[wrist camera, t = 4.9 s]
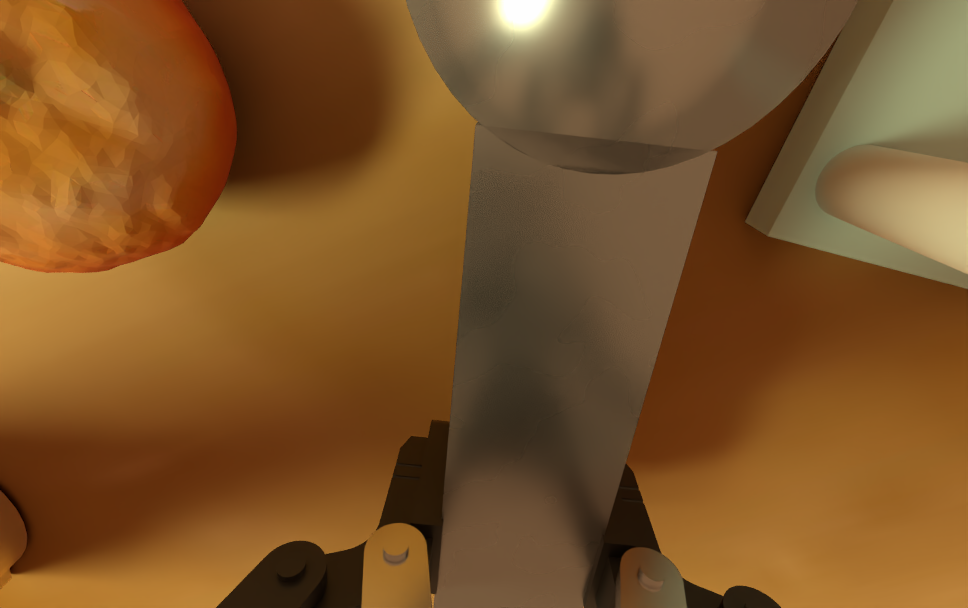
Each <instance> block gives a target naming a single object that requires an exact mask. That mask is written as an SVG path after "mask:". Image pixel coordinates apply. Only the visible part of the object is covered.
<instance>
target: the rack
mask: <svg viewBox="0 0 968 608" xmlns="http://www.w3.org/2000/svg"><path fill="white" fill-rule="evenodd" d="M745 223H747V224H749V225H750V226H752V227H753V228H755V229H757V230H758V231H760V232H762V233H763V234H765V235H766V236H769V237H773V238H777V239H780V240H784V241H788V242H792V243H795V244H799V245H803V246H807V247H811V248H814V249H818V250H822V251H826V252H830V253H833V254H837V255H841V256H845V257H848V258H852V259H856V260H860V261H864V262H867V263H871V264H875V265H879V266H883V267H886V268H890V269H894V270H898V271H901V272H905V273H909V274H913V275H917V276H920V277H924V278H928V279H932V280H936V281H939V282H943V283H947V284H951V285H955V286H958V287H962V288H966V289H968V0H858V2H857V4H856V6H855V8H854V10H853V11H852V13H851V15H850V17H849V19H848V21H847V22H846V24H845V25H844V27H843V29H842V31H841V33H840V35H839V37H838V39H837V40H836V42H835V44H834V46H833V48H832V50H831V52H830V54H829V56H828V58H827V60H826V62H825V64H824V66H823V68H822V70H821V72H820V74H819V76H818V78H817V80H816V82H815V84H814V86H813V88H812V90H811V92H810V94H809V96H808V98H807V100H806V102H805V104H804V106H803V108H802V110H801V112H800V114H799V116H798V118H797V120H796V122H795V123H794V125H793V127H792V129H791V131H790V133H789V135H788V137H787V139H786V141H785V143H784V145H783V147H782V149H781V151H780V153H779V155H778V157H777V159H776V161H775V163H774V165H773V167H772V169H771V171H770V173H769V175H768V177H767V179H766V181H765V183H764V185H763V187H762V189H761V191H760V193H759V195H758V197H757V199H756V201H755V203H754V205H753V207H752V208H751V210H750V212H749V214H748V216H747V218H746V220H745Z"/></svg>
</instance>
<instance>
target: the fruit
mask: <svg viewBox="0 0 968 608" xmlns="http://www.w3.org/2000/svg"><path fill="white" fill-rule="evenodd" d="M236 142H237V124H236V116H235V111H234V106H233V101H232V97H231V93H230V89H229V86H228V83H227V81H226V78H225V76H224V73H223V70H222V68H221V65H220V63H219V60H218V58H217V56H216V54H215V52H214V50H213V48H212V46H211V45H210V43H209V41H208V40H207V38H206V36H205V35H204V33H203V32H202V30H201V29H200V27H199V26H198V24H197V23H196V21H195V20H194V19H193V17H192V16H191V14H190V13H189V11H188V10H187V8H186V6H185V5H184V3H183V2H182V0H0V261H1V262H4V263H8V264H12V265H15V266H19V267H22V268H25V269H30V270H35V271H40V272H46V273H50V272H77V273H87V272H100V271H106V270H110V269H112V268H115V267H117V266H120V265H123V264H127V263H131V262H134V261H137V260H139V259H142V258H145V257H148V256H151V255H155V254H158V253H161V252H164V251H167V250H170V249H172V248H174V247H176V246H178V245H180V244H182V243H184V242H185V241H186V240H187V239H188V238H189V237H190V236H191V235H192V234H193V233H194V232H195V231H196V230H197V229H198V228H199V227H200V226H201V225H202V223H203V222H204V220H205V218H206V217H207V215H208V214H209V212H210V211H211V209H212V208H213V206H214V204H215V203H216V201H217V200H218V198H219V196H220V194H221V192H222V191H223V189H224V187H225V184H226V181H227V178H228V175H229V171H230V168H231V164H232V160H233V156H234V151H235V147H236Z"/></svg>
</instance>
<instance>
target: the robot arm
mask: <svg viewBox="0 0 968 608" xmlns="http://www.w3.org/2000/svg"><path fill="white" fill-rule="evenodd" d="M449 426H450V422H449V421H439V420H432V421H431V426H430V431H429V435H428V438H425V437H415V436H411V437H410V438H409V439H408V440H407V441H406V443H405V444H404V445H403V446H402V447H401V448H400V452H399V455H398V459H397V462H396V466H395V469H394V473H393V478H392V480H391V484H390V487H389V491H388V494H387V498H386V502H385V505H384V509H383V512H382V516H381V519H380V523H379V525H378V528H377V529H376V531H375V532H374V533H373V534H372V535H371V536H370V537H369V539H368V540H367V541H365V542H364V543H362V544H361V545H359V546H357V547H354V548H352V549H348V550H344V551H339V552H334V553H329V554H324V552H323V551H322V549H321V548H320V547H319V546H317V545H316V544H314V543H311V542H307V541H293V542H289V543H286V544H283V545H281V546H279V547H277V548H276V549H274V550H273V551H271V552H270V553H269V554H268V555H267V556H266V557H265V558H264V559H263V560H262V561H261V562H260V563H259V564H258V565H257V566H256V567H255V568H254V569H253V570H252V571H251V572H250V573H249V574H248V575H247V576H246V577H245V578H244V579H243V581H242V582H241V583H240V584H239V585H238V586H237V587H236V588H235V589H234V590H233V591H232V592H231V593H230V594H229V595H228V596H227V597H226V598H225V599H224V600H223V601H222V602H221V603H220V604H219V605H218V606H217V607H216V608H432V601H431V594H437V586H438V575H439V564H440V552H441V541H442V530H443V519H441V517H442V506H443V494H444V483H445V471H446V460H447V448H448V437H449ZM638 488H639V487H638V485H637V482H636V479H635V476H634V473H633V471H632V470H631V469H630V468H629V466H628V465H627V464H625V467H624V470H623V474H622V477H621V481H620V484H619V487H618V491H617V494H616V498H615V501H614V504H613V508H612V511H611V515H610V518H609V521H608V525H607V528H606V532H605V535H602V537H601V541H600V544H599V547H598V551H597V554H596V558H595V561H594V565H593V568H592V571H591V575H590V578H589V582H588V585H587V589H586V592H585V595H584V599H583V605H584V608H781V607H780V606H779V605H778V604H777V603H776V602H775V601H774V600H773V599H771V598H770V597H769V596H767V595H766V594H764V593H762V592H760V591H758V590H756V589H754V588H751V587H747V586H734V587H731V588H729V589H728V590H727V591H726V593H725V594H724V596H722V595H719V594H717V593H714V592H712V591H709V590H707V589H704V588H702V587H699V586H697V585H694V584H692V583H690V582H688V581H687V580H685V579H684V578H682V577H681V574H680V572H679V571H678V569H677V568H676V566H675V565H674V564H673V563H672V562H671V561H670V560H669V559H668V558H667V557H665V556H664V555H662V554H661V551H660V549H659V546H658V543H657V540H656V537H655V534H654V531H653V528H652V525H651V522H650V520H649V517H648V514H647V511H646V508H645V505H644V504H643V499H642V496H641V493H640V491H639V490H638ZM26 545H27V533H26V529H25V525H24V522H23V520H22V518H21V517H20V515H19V513H18V511H17V509H16V508H15V507H14V506H13V504H12V503H11V502H10V501H9V499H8V498H7V497H6V496H5V495H4V494H3V493H2V492H1V491H0V589H1V588H2V587H3V586H4V585H5V584H6V583H7V582H8V581H9V580H10V579H11V577H12V576H11V573H10V567H11V566H12V565H13V564H14V563H15V562H16V561H17V560H18V559H19V558H20V557H21V556H22V554H23V553H24V551H25V549H26Z"/></svg>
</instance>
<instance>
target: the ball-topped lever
mask: <svg viewBox="0 0 968 608" xmlns="http://www.w3.org/2000/svg"><path fill="white" fill-rule="evenodd" d="M406 2H407V6H408V9H409V12H410V14H411V17H412V20H413V22H414V25H415V28H416V30H417V33H418V36H419V38H420V40H421V42H422V44H423V46H424V48H425V50H426V52H427V54H428V56H429V58H430V60H431V62H432V64H433V66H434V68H435V69H436V71H437V72H438V74H439V75H440V77H441V78H442V80H443V81H444V82H445V84H446V85H447V87H448V88H449V90H450V91H451V93H452V94H453V95H454V96H455V98H456V99H457V100H458V101H459V102H460V103H461V104H462V106H463V107H464V108H465V109H466V110H467V111H468V112H469V114H470V115H471V116H472V117H474V118H475V119H476V120H477V121H478V122H477V124H476V127H475V139H474V150H473V162H472V173H471V185H470V196H469V208H468V219H467V230H466V242H465V253H464V265H463V276H462V288H461V299H460V311H459V322H458V334H457V345H456V357H455V368H454V380H453V391H452V403H451V414H450V426H449V437H448V448H447V460H446V471H445V483H444V494H443V506H442V517H441V519H443V530H442V541H441V552H440V564H439V575H438V586H437V594H435V598H434V608H583V606H584V605H583V599H584V595H585V592H586V589H587V585H588V582H589V578H590V575H591V571H592V568H593V565H594V561H595V558H596V554H597V551H598V547H599V544H600V541H601V537H602V535H605V532H606V528H607V525H608V521H609V518H610V515H611V511H612V508H613V504H614V501H615V498H616V494H617V491H618V487H619V484H620V481H621V477H622V474H623V470H624V467H625V464H626V460H627V457H628V454H629V450H630V447H631V443H632V440H633V437H634V433H635V430H636V426H637V423H638V420H639V416H640V413H641V409H642V406H643V403H644V399H645V396H646V392H647V389H648V386H649V382H650V379H651V376H652V372H653V369H654V365H655V362H656V359H657V355H658V352H659V348H660V345H661V342H662V338H663V335H664V331H665V328H666V325H667V321H668V318H669V314H670V311H671V308H672V304H673V301H674V298H675V294H676V291H677V287H678V284H679V281H680V277H681V274H682V270H683V267H684V264H685V260H686V257H687V253H688V250H689V247H690V243H691V240H692V237H693V233H694V230H695V226H696V223H697V220H698V216H699V213H700V209H701V206H702V203H703V199H704V196H705V192H706V189H707V186H708V182H709V179H710V175H711V172H712V169H713V165H714V162H715V159H716V155H717V152H718V151H714V150H713V149H715V148H717V147H719V146H721V145H723V144H725V143H727V142H728V141H730V140H731V139H733V138H734V137H736V136H738V135H739V134H741V133H742V132H744V131H745V130H747V129H749V128H750V127H752V126H753V125H754V124H755V123H757V122H758V121H759V120H760V119H762V118H763V117H764V116H765V115H767V114H768V113H769V112H770V111H772V110H773V109H774V108H775V107H777V106H778V105H779V104H780V103H781V102H782V101H783V100H784V99H785V98H786V97H787V96H788V95H789V94H790V93H791V92H792V91H793V90H794V89H795V88H796V87H797V86H798V85H799V84H800V83H801V82H802V81H803V80H804V79H805V78H806V76H807V75H808V74H809V73H810V71H811V70H812V69H813V68H814V67H815V65H816V64H817V63H818V62H819V61H820V59H821V58H822V57H823V56H824V55H825V53H826V52H827V50H828V49H829V47H830V46H831V44H832V43H833V42H834V40H835V39H836V37H837V36H838V34H839V33H840V31H841V30H842V28H843V27H844V25H845V24H846V22H847V21H848V19H849V17H850V15H851V13H852V11H853V10H854V8H855V6H856V4H857V2H858V0H406Z"/></svg>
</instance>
